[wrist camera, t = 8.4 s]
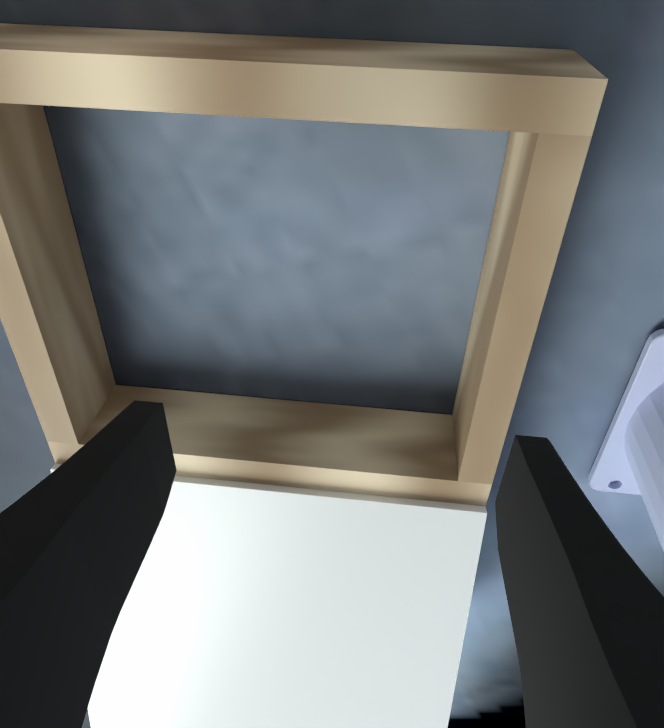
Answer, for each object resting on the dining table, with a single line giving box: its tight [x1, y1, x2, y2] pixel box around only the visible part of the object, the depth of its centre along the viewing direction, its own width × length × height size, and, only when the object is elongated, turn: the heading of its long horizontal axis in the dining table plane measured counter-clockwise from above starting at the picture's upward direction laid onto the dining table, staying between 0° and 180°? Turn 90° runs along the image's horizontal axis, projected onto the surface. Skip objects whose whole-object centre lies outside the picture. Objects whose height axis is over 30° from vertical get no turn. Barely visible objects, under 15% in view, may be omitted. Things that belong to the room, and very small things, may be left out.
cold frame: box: [0, 23, 608, 728], centre depth 22 cm, size 16×28×8 cm, turn 178°
